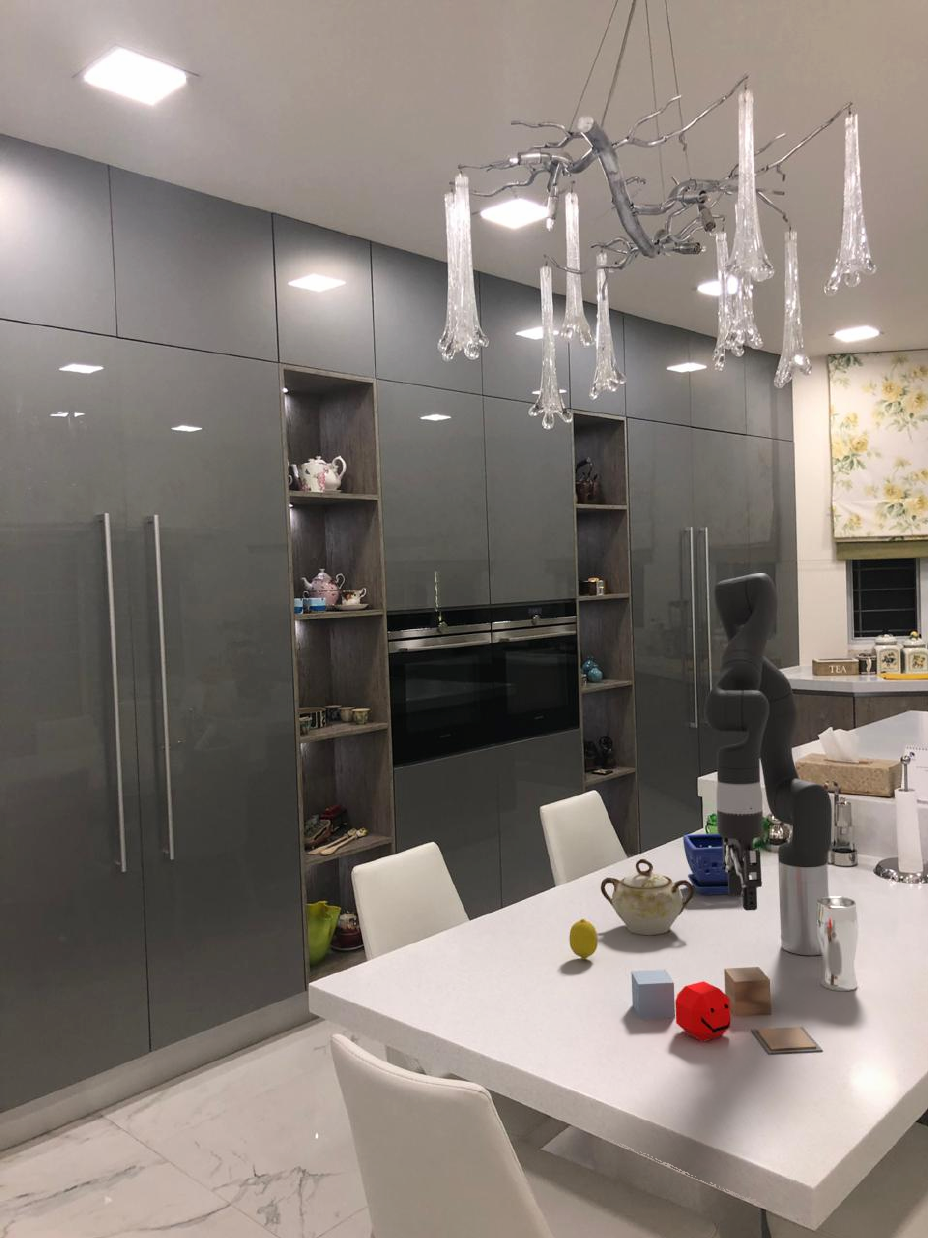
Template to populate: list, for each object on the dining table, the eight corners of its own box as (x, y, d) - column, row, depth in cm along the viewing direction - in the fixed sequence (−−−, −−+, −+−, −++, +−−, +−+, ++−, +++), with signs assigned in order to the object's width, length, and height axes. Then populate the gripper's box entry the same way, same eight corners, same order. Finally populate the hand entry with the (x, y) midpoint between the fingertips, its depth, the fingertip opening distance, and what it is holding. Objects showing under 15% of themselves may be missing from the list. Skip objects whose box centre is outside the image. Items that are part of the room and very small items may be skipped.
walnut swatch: (802, 1028, 164) (802, 1025, 164) (822, 1051, 156) (822, 1048, 156) (751, 1031, 164) (751, 1028, 164) (768, 1054, 155) (768, 1051, 155)
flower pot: (751, 896, 235) (749, 845, 235) (694, 898, 235) (692, 847, 235) (737, 880, 248) (735, 832, 248) (683, 882, 249) (681, 834, 248)
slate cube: (666, 1004, 176) (665, 969, 176) (675, 1018, 170) (673, 982, 170) (632, 1005, 176) (631, 971, 176) (639, 1020, 170) (638, 984, 170)
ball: (701, 1049, 158) (699, 1001, 158) (668, 1031, 165) (666, 984, 165) (740, 1037, 162) (738, 990, 161) (706, 1020, 169) (704, 974, 168)
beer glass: (859, 979, 183) (856, 897, 183) (861, 994, 177) (858, 908, 176) (818, 976, 186) (815, 894, 185) (818, 990, 179) (815, 906, 179)
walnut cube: (759, 1001, 176) (758, 967, 176) (771, 1015, 170) (770, 980, 170) (725, 1003, 175) (724, 968, 175) (735, 1017, 169) (734, 981, 169)
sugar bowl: (594, 937, 212) (591, 865, 211) (609, 915, 226) (607, 848, 225) (690, 944, 205) (687, 871, 205) (699, 921, 219) (697, 852, 219)
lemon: (597, 965, 196) (595, 924, 195) (568, 964, 197) (567, 923, 196) (599, 955, 201) (597, 915, 201) (571, 954, 202) (570, 914, 202)
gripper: (775, 815, 165) (778, 914, 165) (748, 798, 179) (751, 889, 180) (729, 817, 165) (732, 916, 165) (706, 800, 179) (709, 891, 179)
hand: (742, 902), depth 172 cm, fingers open, 8 cm apart
